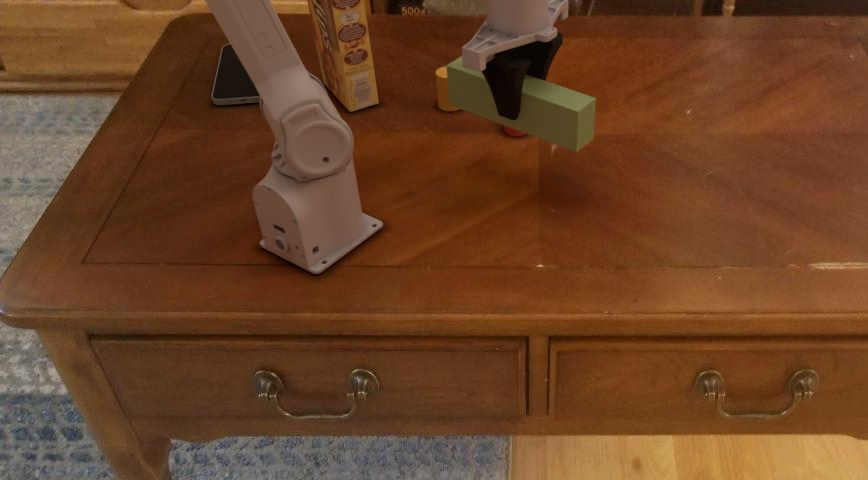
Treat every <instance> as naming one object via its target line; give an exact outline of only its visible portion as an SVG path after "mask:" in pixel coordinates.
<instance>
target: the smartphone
mask: <svg viewBox="0 0 868 480" xmlns="http://www.w3.org/2000/svg"><path fill="white" fill-rule="evenodd" d="M217 63H218V64H217V68H216V73H215V78H214V83H213V86H212V91H211V100H212V103H213V105H216V106H228V105H229V106H230V105H240V104H241V105H242V104H243V105H244V104H253V103H255V104H256V103H260V94H259V92H258V91H257V89H256V87H255V85H254V83H253V82H252V80H251V78H250V76H249V75H248V73H247V71H246V70H245V68H244V66H243V65H242V63H241V61H240V59H239V58H238V56H237V54H236V53H235V51H234V49H233V47H232V46H231V44H230V43H226V44H225V45H223V46H222V47H221V50H220V55H219V60H218V62H217Z"/></svg>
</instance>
